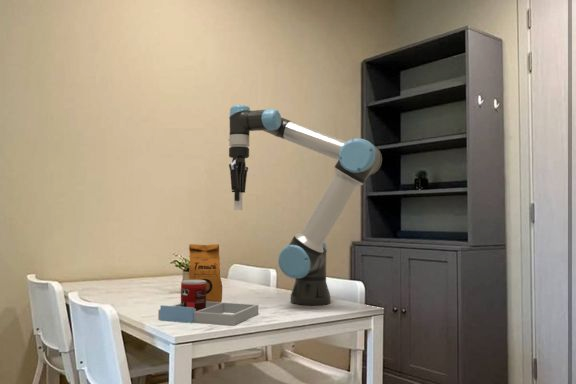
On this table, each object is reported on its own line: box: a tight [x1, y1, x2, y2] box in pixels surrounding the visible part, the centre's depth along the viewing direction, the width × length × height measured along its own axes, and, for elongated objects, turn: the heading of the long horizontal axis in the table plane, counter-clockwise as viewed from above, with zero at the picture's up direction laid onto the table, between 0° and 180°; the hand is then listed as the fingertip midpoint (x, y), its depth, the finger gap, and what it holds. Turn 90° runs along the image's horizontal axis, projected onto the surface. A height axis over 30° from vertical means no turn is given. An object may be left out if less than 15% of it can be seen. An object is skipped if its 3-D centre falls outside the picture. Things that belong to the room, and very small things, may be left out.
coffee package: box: [188, 243, 223, 302], centre depth 186 cm, size 10×12×22 cm
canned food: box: [180, 279, 206, 312], centre depth 167 cm, size 8×8×11 cm
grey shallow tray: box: [157, 301, 259, 327], centre depth 164 cm, size 25×21×4 cm
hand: (238, 209), depth 194 cm, fingers closed
